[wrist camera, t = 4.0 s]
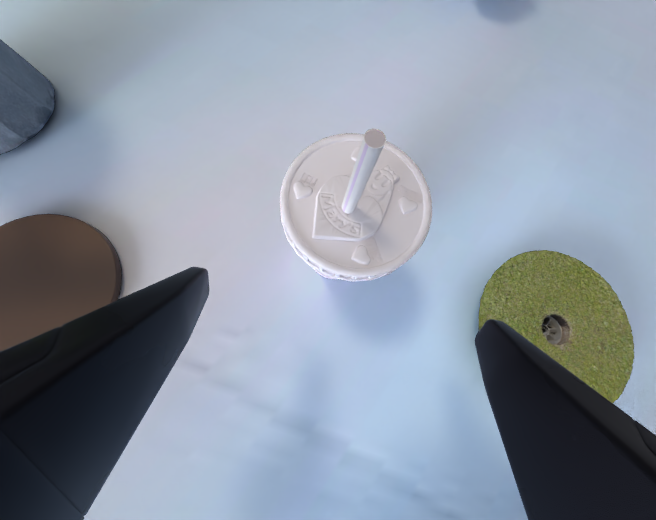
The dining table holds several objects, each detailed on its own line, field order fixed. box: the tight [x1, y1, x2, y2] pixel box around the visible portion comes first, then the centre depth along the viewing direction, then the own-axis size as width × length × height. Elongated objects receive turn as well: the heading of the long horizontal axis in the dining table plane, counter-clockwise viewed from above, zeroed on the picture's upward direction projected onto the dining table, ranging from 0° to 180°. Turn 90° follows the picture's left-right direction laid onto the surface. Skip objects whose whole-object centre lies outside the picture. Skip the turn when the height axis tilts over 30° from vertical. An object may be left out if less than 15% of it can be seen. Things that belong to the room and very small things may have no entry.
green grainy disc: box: [479, 250, 634, 403], centre depth 20 cm, size 11×11×2 cm
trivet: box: [0, 214, 122, 351], centre depth 18 cm, size 10×10×1 cm
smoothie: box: [280, 129, 432, 282], centre depth 14 cm, size 6×6×14 cm
